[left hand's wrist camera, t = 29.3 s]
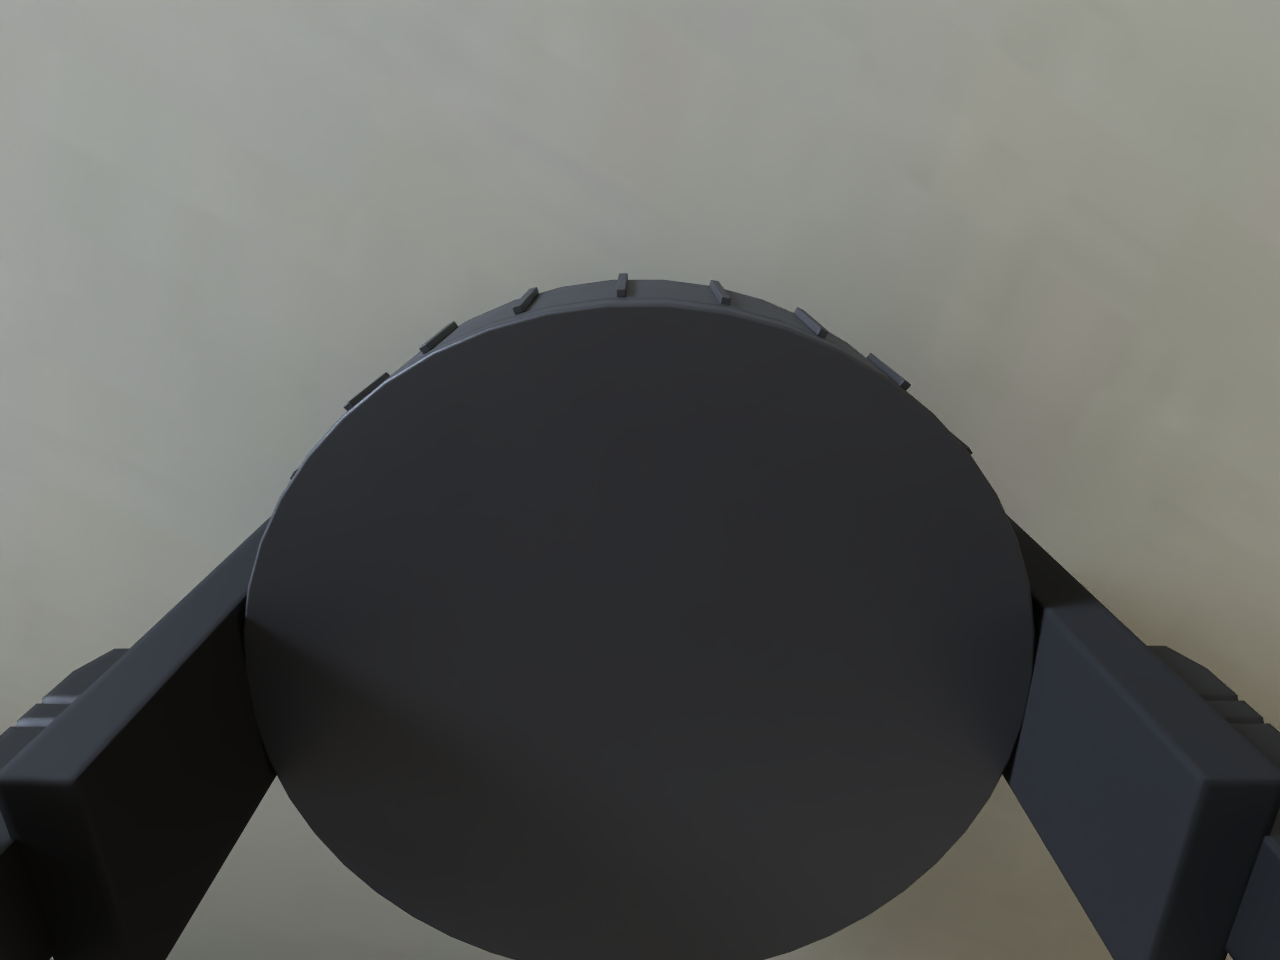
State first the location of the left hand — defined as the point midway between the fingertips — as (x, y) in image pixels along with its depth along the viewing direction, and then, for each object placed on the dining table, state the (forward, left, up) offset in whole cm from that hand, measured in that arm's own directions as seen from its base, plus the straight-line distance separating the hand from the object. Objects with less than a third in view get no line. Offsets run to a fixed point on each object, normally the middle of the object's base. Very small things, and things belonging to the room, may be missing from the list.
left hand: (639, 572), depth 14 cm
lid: (0, 0, +3) cm, 3 cm away
